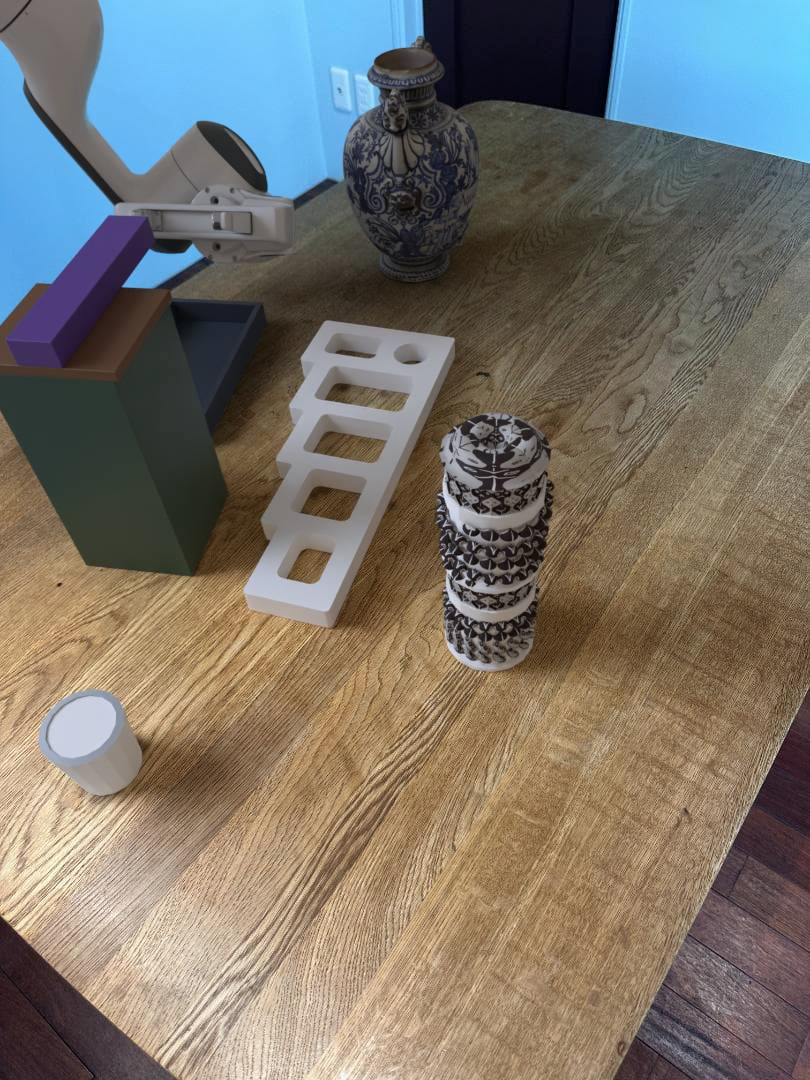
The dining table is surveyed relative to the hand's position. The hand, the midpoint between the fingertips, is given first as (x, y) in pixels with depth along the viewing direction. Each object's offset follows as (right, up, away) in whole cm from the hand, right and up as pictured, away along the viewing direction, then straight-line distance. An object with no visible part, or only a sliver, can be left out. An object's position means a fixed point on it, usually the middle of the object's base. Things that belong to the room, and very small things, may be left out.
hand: (176, 219), depth 86 cm
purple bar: (-3, -12, -14) cm, 19 cm away
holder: (+15, -24, +9) cm, 30 cm away
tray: (-4, -13, +21) cm, 24 cm away
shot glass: (-1, -53, -15) cm, 56 cm away
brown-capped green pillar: (-3, -33, +3) cm, 33 cm away
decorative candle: (+32, -43, -8) cm, 54 cm away
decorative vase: (+26, +7, +36) cm, 45 cm away
